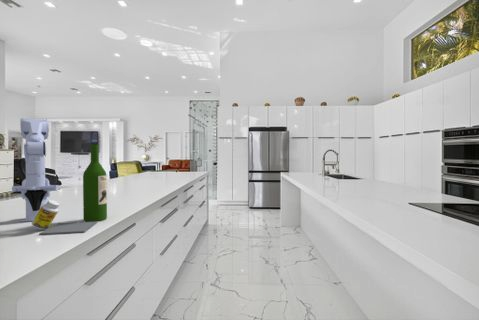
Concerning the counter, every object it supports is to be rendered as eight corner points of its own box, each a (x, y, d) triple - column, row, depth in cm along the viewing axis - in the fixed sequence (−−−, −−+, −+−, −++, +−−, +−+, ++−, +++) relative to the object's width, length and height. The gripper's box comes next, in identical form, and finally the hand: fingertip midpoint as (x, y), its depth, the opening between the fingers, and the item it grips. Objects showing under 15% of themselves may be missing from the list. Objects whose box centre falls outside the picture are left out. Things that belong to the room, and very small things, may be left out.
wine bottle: (100, 222, 111) (99, 144, 110) (78, 222, 111) (77, 144, 110) (110, 217, 119) (110, 145, 119) (91, 217, 120) (90, 145, 119)
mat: (58, 224, 107) (58, 223, 107) (97, 222, 109) (97, 221, 109) (39, 235, 93) (39, 233, 93) (84, 232, 96) (84, 230, 96)
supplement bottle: (29, 227, 95) (45, 202, 96) (32, 221, 100) (46, 197, 101) (47, 231, 98) (61, 207, 99) (48, 225, 103) (62, 202, 104)
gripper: (6, 175, 93) (6, 213, 93) (52, 174, 96) (52, 211, 96) (18, 173, 100) (19, 209, 100) (61, 173, 103) (61, 208, 103)
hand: (36, 210), depth 99 cm, fingers closed
